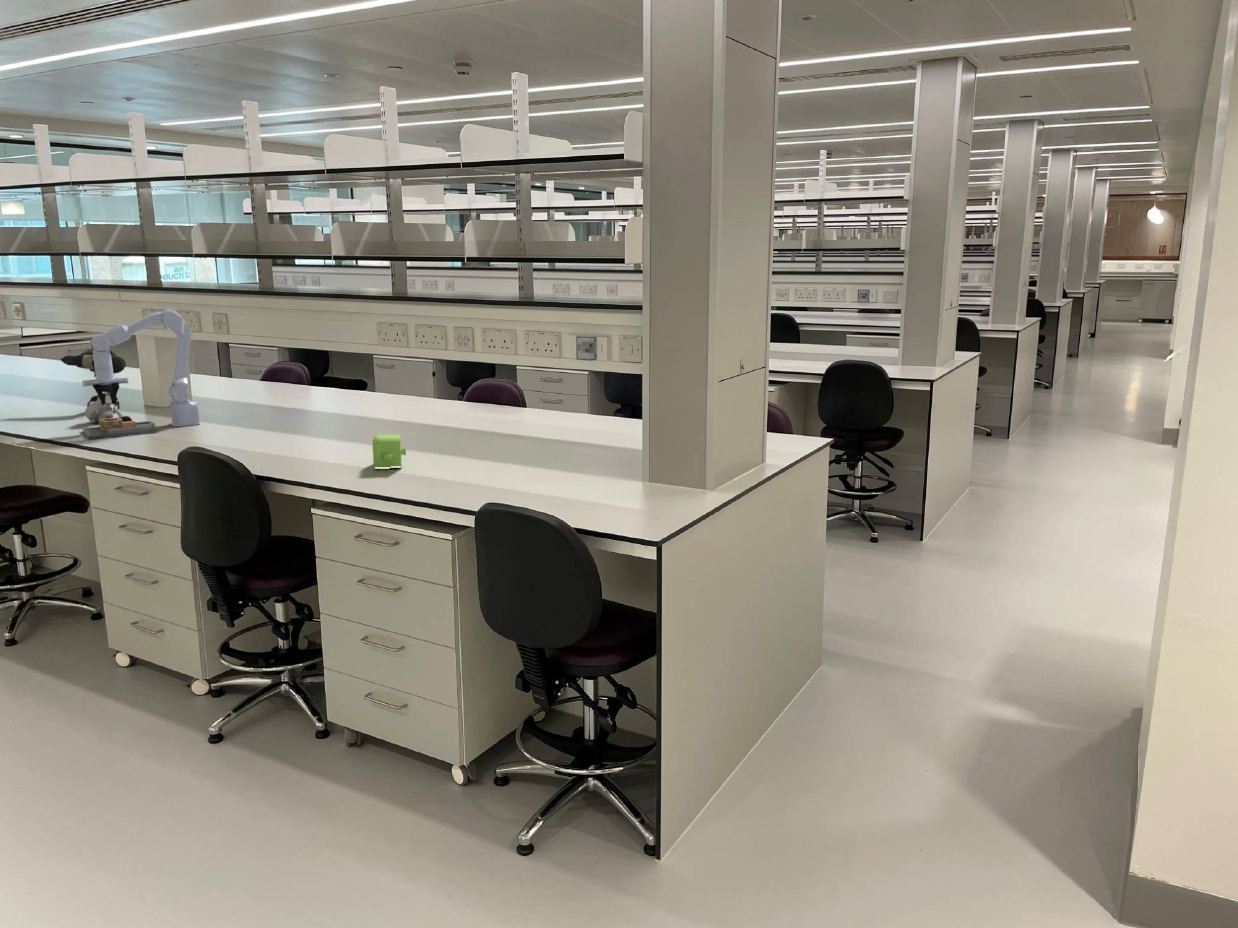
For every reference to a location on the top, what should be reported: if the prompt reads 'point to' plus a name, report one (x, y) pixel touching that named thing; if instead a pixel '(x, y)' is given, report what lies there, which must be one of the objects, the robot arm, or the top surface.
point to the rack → (110, 422)
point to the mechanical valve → (102, 412)
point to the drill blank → (108, 401)
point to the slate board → (120, 430)
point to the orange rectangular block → (128, 424)
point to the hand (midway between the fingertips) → (108, 404)
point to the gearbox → (387, 450)
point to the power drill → (88, 363)
